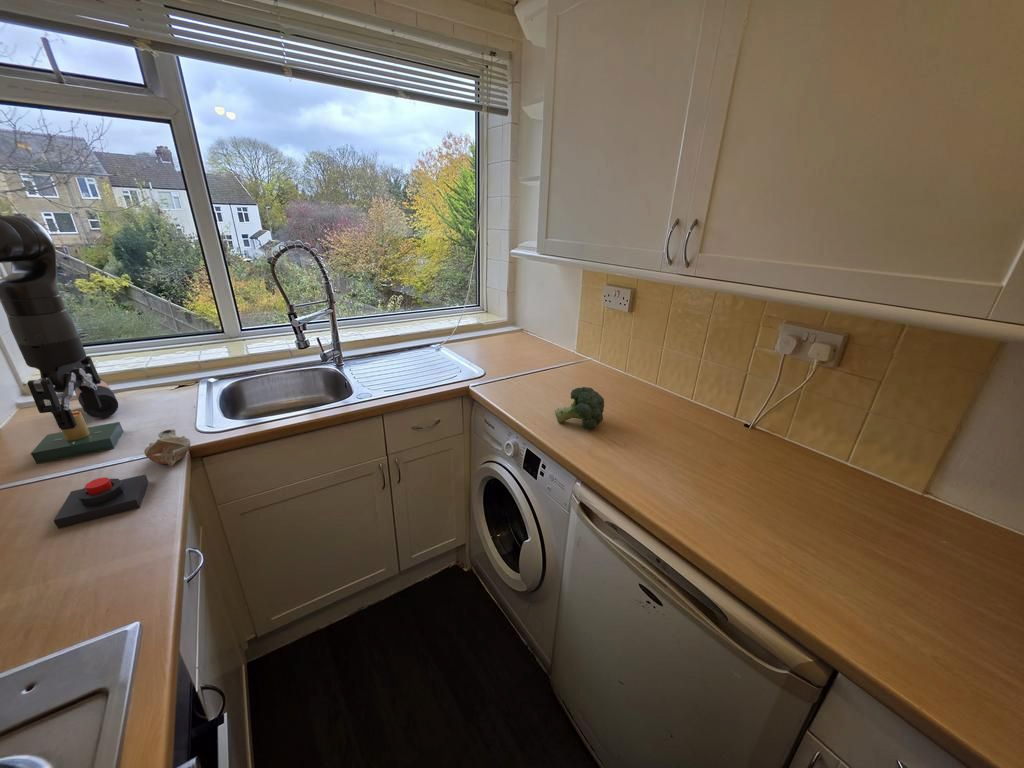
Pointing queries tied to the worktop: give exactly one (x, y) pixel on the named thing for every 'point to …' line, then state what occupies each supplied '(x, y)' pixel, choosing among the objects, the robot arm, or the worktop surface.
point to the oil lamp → (168, 448)
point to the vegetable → (583, 408)
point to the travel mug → (101, 401)
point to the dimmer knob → (77, 428)
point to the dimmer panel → (77, 443)
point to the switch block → (102, 502)
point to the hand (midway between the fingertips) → (82, 418)
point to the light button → (98, 486)
